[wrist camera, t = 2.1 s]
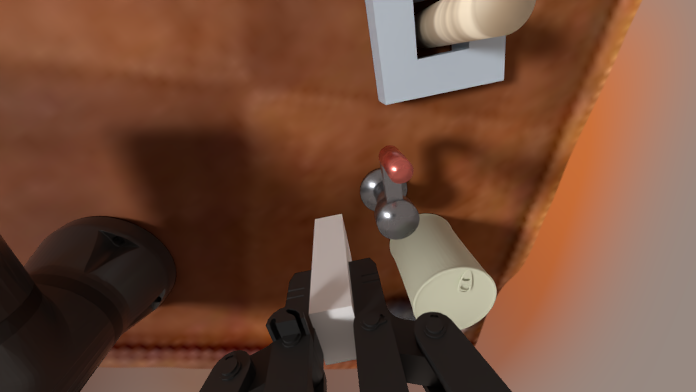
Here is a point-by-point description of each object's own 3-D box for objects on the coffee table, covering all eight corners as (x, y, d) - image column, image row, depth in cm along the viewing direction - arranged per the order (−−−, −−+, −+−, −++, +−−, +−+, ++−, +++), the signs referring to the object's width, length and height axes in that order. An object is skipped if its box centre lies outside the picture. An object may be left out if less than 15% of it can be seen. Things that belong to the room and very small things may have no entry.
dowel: (411, 51, 30) (476, 41, 17) (408, 12, 29) (476, -31, 16) (445, 44, 30) (533, 29, 17) (443, 5, 29) (539, -44, 16)
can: (461, 216, 39) (514, 274, 28) (441, 269, 43) (482, 338, 32) (397, 209, 38) (427, 266, 27) (383, 264, 42) (404, 334, 31)
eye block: (378, 100, 32) (385, 104, 28) (361, -30, 27) (366, -45, 23) (483, 78, 32) (503, 80, 28) (485, -57, 27) (510, -76, 23)
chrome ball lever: (377, 233, 32) (388, 267, 26) (362, 146, 28) (372, 165, 22) (415, 225, 32) (434, 258, 26) (406, 136, 28) (427, 154, 22)
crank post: (364, 214, 38) (370, 239, 32) (356, 172, 35) (362, 192, 30) (408, 205, 38) (422, 228, 32) (403, 163, 35) (418, 180, 30)
